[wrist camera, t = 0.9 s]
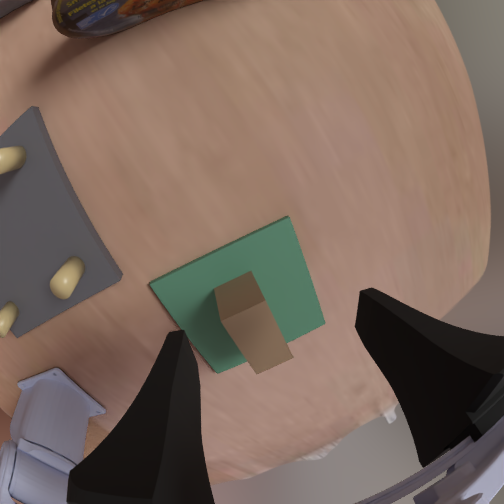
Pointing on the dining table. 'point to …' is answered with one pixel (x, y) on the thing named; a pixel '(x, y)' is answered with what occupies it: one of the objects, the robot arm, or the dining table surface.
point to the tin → (107, 15)
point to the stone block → (10, 6)
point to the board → (229, 263)
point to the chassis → (43, 233)
